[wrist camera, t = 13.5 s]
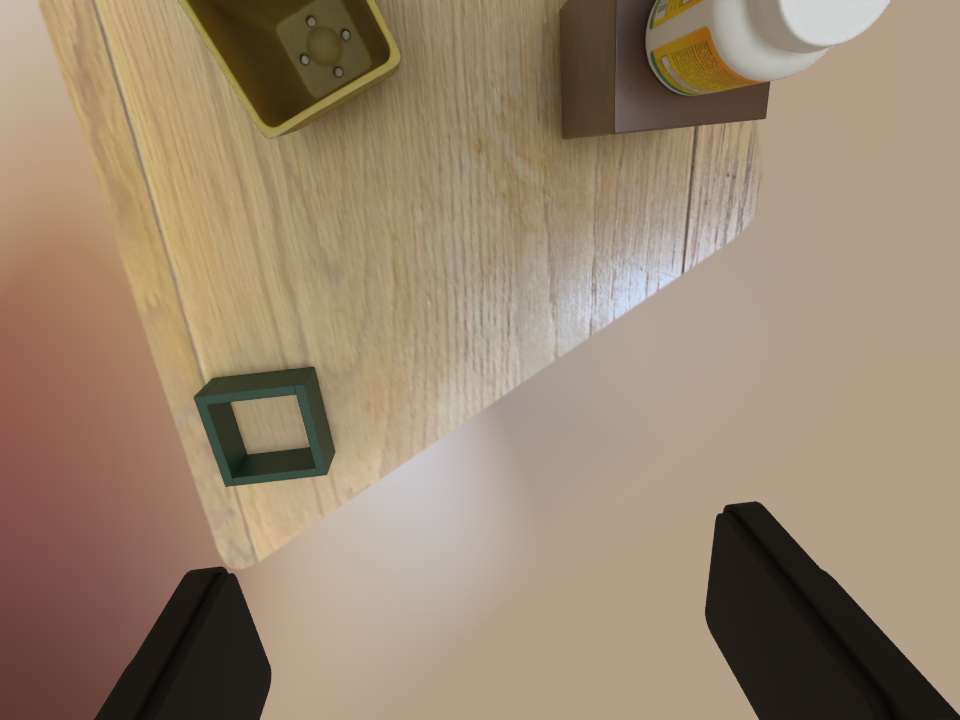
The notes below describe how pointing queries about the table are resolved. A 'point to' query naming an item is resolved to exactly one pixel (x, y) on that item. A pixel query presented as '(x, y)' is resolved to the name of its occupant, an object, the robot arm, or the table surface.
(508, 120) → the table surface
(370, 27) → the flower pot
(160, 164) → the table surface
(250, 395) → the open square frame
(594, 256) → the table surface
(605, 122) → the display block
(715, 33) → the supplement bottle
